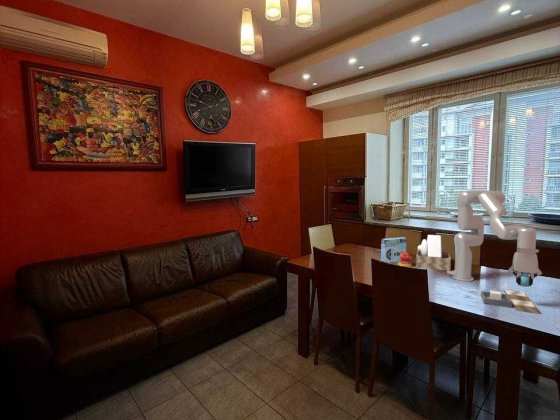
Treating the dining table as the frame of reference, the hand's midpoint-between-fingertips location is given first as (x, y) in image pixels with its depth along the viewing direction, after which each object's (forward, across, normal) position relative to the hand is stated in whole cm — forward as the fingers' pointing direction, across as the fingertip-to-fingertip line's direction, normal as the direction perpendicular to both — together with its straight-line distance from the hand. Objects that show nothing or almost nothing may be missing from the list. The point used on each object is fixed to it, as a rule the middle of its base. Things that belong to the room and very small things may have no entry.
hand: (524, 284), depth 160 cm
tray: (+11, +13, +3) cm, 17 cm away
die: (+10, +13, +2) cm, 16 cm away
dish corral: (+10, +43, -62) cm, 76 cm away
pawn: (+1, 0, 0) cm, 1 cm away
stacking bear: (+10, +60, -20) cm, 64 cm away
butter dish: (-2, +38, -64) cm, 75 cm away
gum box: (+10, +70, -43) cm, 83 cm away
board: (+11, 0, -4) cm, 11 cm away
